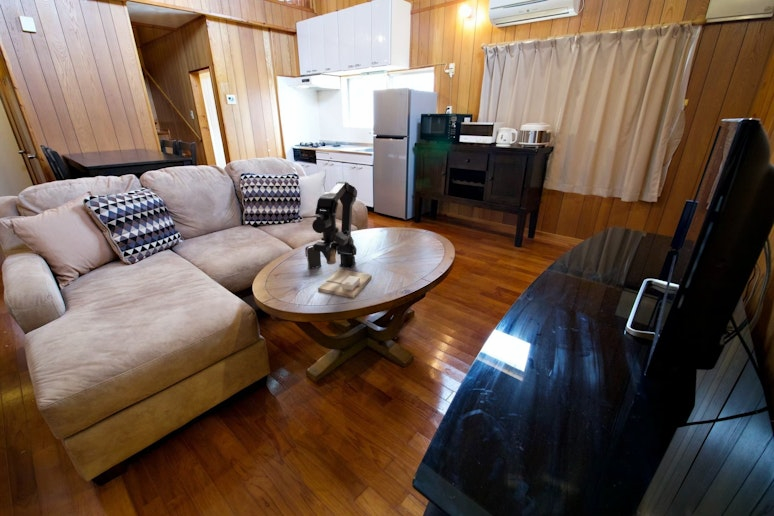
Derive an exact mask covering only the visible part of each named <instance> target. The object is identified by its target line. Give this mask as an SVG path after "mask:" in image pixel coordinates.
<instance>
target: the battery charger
mask: <svg viewBox="0 0 774 516" xmlns="http://www.w3.org/2000/svg"><path fill="white" fill-rule="evenodd" d="M313 245H314V244H312V245H308V246H305V249H304V250H305V251H304V252H305V257H306V260H307V268H308V269H309V270H312V269H316V268H318V267H322V261H321V256H322V255H321V252H319V251H313Z"/></svg>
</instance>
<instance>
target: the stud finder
mask: <svg viewBox="0 0 774 516" xmlns="http://www.w3.org/2000/svg"><path fill="white" fill-rule="evenodd" d="M359 283H360V277H355V276H349V277H348V278H347V279H346V280H345V281H343V282H342V289H347V290H353V289H354V288H355V287H356V286H357V285H358V284H359Z"/></svg>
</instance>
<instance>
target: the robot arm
mask: <svg viewBox="0 0 774 516" xmlns="http://www.w3.org/2000/svg"><path fill="white" fill-rule="evenodd" d="M357 197H358V190H357V189H356V187H355V186H353V185H352V184H350V183H349V182H347V181H336V185H334V187H333V188H332V189H331V190H330V191H329V192H328V193H325V194H322V195H320V196H319V198H318V199H317V203H316V208H315V212H314V213H315V216H316V217H315V218H316V219H314V220H313V222H312V229H313V231H314V232H315V233H317V234H322V237H321V238H320V240H321V241H317V242H315V243H314V244H312V245H313V251H319V252H320V253H322V255H323V257H324V258H325V260H326V262H327V261H328V262H330V254H331V250H332V249H335V256H336V255H340V256H339V258H340V264H339V265H338V266H339V267H343V268H350V269H351V268H352V267H353V266H355V264H357V263H356V255H357V247H356V245H355V242H354V239H353V236H352V219H353V218H352V215H353V205H354V204H355V203H356V200H357ZM338 201H340V203H341V205H342V206H341V207H342V208H341V209H342V210H341V231H339V230H340V229H339V227H337V223H336V222H337V221H336V220H337V219H336V214H337V210H338V207H339V202H338Z"/></svg>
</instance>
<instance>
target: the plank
mask: <svg viewBox="0 0 774 516" xmlns="http://www.w3.org/2000/svg"><path fill="white" fill-rule="evenodd" d="M349 276H355V277H360V283H359V284H358V285H357V286H356V287H355V288H354V289H353V290H347V289H342V282H343V281H345V280H346V279H347V278H348V277H349ZM372 277H373V276H372V274H369V273H363V272H357V271H351V270H347V269H337V271H336V272H334V273H333V274H332V275H331V276H330V277H329V278H328V279H326V280H325V281H324V282H323V283H322V284H321V285H320V286H319V287H317V291H318V292H321V293H327V294H333V295H337V296H342V297H347V298H353V299H354V298H356V296H357V295H358V294H359V292H361V290H362V289H364V287H365V286H366V285H367V284H368V282H369V281H370V280H371V279H372Z"/></svg>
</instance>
